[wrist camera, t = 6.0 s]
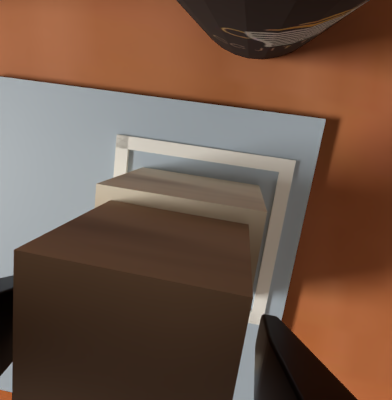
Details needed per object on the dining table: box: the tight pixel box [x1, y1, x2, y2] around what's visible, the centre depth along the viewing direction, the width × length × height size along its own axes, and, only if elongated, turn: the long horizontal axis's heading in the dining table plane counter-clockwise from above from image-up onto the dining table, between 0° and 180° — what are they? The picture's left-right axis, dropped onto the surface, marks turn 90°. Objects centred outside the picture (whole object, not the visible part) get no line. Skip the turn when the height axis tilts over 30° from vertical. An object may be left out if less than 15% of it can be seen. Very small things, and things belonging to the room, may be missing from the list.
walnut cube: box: [12, 200, 253, 400], centre depth 8 cm, size 4×4×4 cm
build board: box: [0, 77, 326, 400], centre depth 17 cm, size 18×16×1 cm
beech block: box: [95, 167, 267, 289], centre depth 13 cm, size 6×6×5 cm
